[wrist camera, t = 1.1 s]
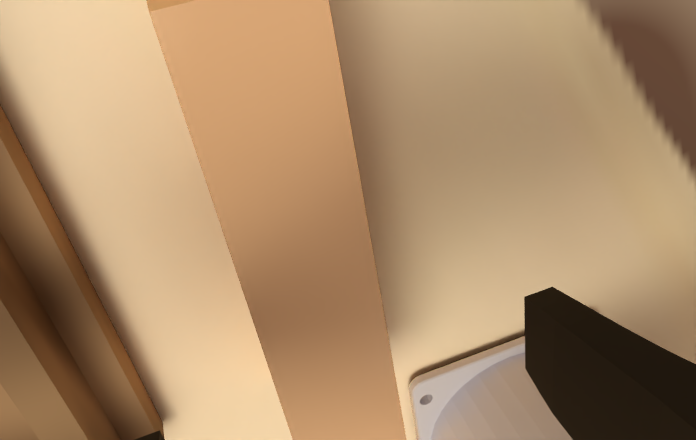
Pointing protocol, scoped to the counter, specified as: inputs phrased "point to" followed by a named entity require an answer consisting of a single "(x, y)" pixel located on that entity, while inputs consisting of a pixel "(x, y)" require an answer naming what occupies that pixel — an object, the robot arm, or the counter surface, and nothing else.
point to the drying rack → (56, 327)
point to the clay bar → (288, 202)
